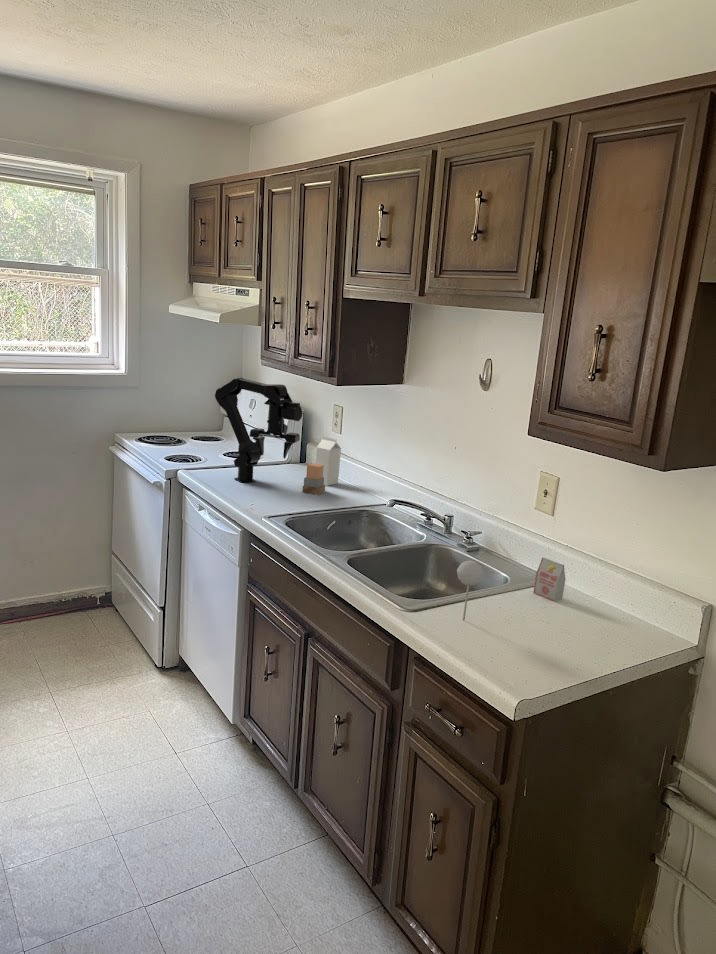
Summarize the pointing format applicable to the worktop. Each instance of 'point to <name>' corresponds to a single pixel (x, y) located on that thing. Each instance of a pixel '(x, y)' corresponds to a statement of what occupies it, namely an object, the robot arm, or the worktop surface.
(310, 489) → the tower bottom
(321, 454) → the milk carton
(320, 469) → the terracotta cube
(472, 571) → the lollipop
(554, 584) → the white printed box
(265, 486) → the worktop surface
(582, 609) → the worktop surface
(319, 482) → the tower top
